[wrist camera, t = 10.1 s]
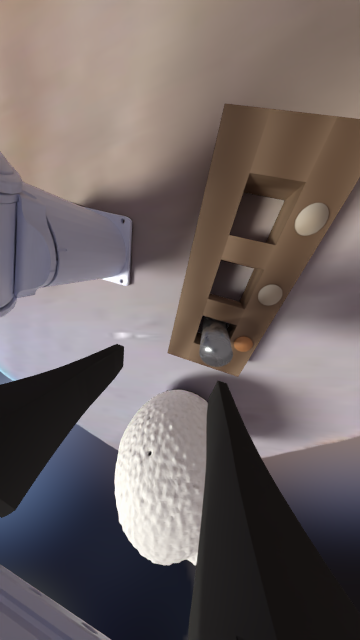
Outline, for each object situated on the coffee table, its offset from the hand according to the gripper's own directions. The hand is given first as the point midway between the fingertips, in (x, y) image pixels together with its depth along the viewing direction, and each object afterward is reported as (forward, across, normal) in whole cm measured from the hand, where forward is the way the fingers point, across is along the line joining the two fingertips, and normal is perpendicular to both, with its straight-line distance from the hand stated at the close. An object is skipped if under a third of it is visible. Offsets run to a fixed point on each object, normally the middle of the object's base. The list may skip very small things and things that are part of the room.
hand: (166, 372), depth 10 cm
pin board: (+10, -3, -6) cm, 13 cm away
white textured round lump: (+11, -4, +18) cm, 21 cm away
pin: (+10, -3, -1) cm, 11 cm away
